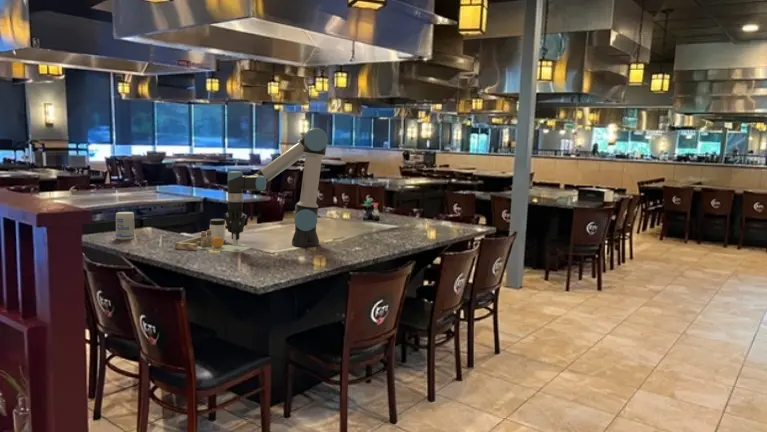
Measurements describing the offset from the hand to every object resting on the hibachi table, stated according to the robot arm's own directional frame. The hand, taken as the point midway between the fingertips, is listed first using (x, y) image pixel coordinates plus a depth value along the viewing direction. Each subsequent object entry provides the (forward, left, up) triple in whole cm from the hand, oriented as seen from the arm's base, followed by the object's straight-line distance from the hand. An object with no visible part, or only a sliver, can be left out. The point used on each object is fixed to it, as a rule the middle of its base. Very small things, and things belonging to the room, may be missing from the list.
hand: (235, 245), depth 301 cm
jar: (+22, -18, -2) cm, 29 cm away
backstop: (+23, 0, -2) cm, 23 cm away
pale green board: (+10, 0, -2) cm, 10 cm away
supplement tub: (+71, -2, -2) cm, 71 cm away
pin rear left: (+18, +2, -2) cm, 18 cm away
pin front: (+14, 0, -1) cm, 15 cm away
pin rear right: (+18, -2, -2) cm, 18 cm away
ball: (+10, +1, +1) cm, 10 cm away
